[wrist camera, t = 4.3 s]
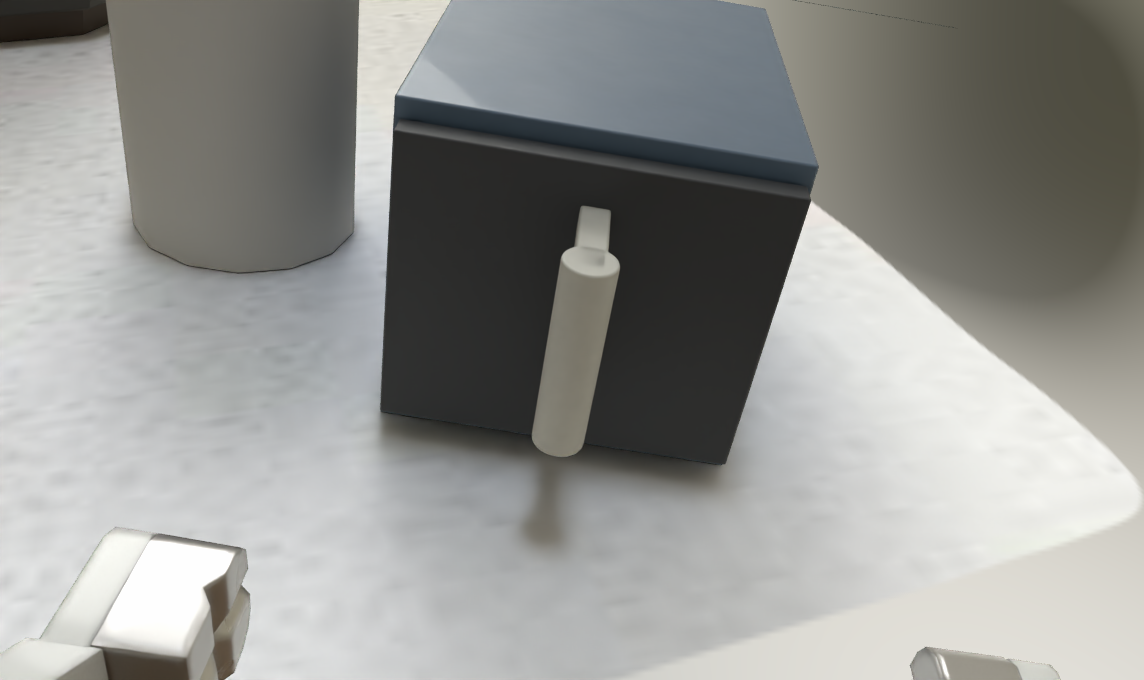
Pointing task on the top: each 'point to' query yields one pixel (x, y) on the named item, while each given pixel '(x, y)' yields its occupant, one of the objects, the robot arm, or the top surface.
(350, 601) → the top surface
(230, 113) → the cup
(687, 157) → the blue cabinet
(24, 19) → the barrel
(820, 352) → the top surface
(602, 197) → the drawer with handle
